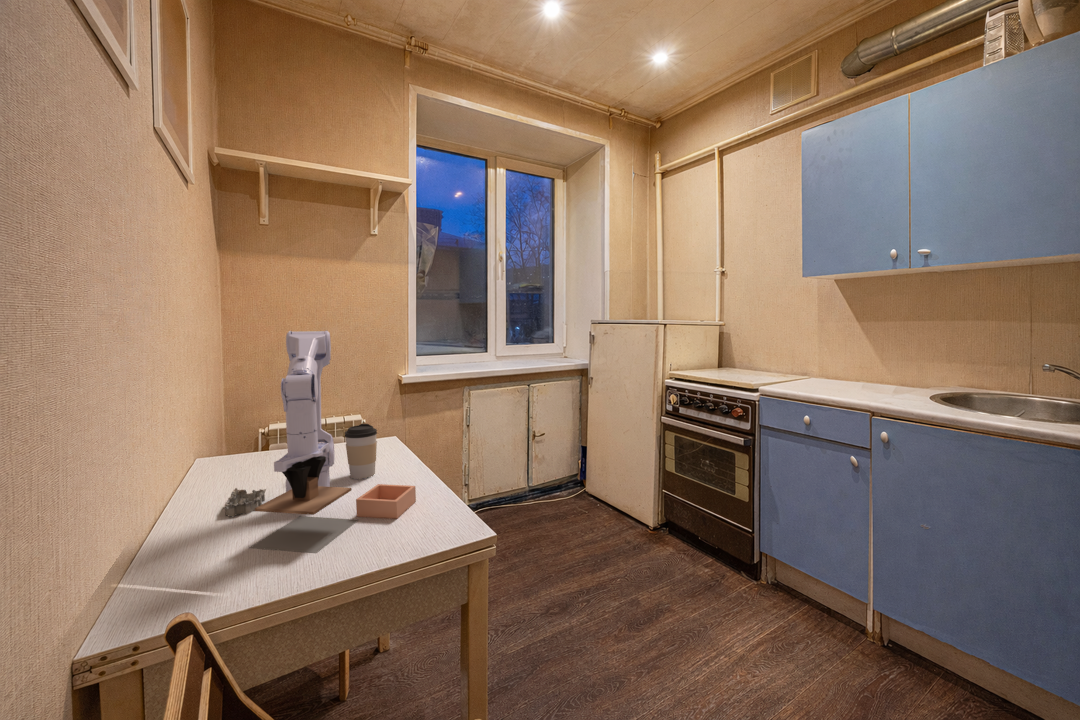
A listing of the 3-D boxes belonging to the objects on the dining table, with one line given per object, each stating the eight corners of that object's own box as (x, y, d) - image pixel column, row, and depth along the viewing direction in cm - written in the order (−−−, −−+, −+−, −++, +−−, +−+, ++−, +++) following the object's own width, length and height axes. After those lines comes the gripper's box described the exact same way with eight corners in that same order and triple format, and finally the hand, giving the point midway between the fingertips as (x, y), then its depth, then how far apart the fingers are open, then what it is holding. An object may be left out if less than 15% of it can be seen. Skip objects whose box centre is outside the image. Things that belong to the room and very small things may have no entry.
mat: (248, 549, 89) (248, 547, 89) (299, 517, 104) (299, 516, 104) (316, 554, 86) (316, 552, 86) (359, 521, 101) (359, 519, 101)
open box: (356, 518, 103) (356, 499, 103) (378, 501, 113) (378, 484, 112) (397, 520, 101) (396, 501, 101) (415, 503, 111) (415, 485, 111)
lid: (254, 511, 89) (253, 488, 89) (299, 487, 102) (298, 468, 101) (313, 514, 87) (312, 492, 87) (351, 490, 100) (350, 470, 100)
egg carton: (236, 502, 114) (235, 487, 114) (269, 498, 116) (268, 483, 116) (220, 519, 104) (218, 502, 103) (256, 514, 106) (255, 498, 106)
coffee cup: (371, 480, 128) (369, 429, 127) (340, 480, 128) (338, 429, 127) (383, 470, 137) (381, 422, 136) (354, 470, 137) (352, 422, 136)
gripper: (295, 440, 86) (299, 509, 87) (340, 424, 100) (342, 483, 101) (262, 439, 87) (266, 507, 88) (311, 423, 101) (314, 481, 102)
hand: (305, 494), depth 94 cm, fingers closed on lid, 3 cm apart
